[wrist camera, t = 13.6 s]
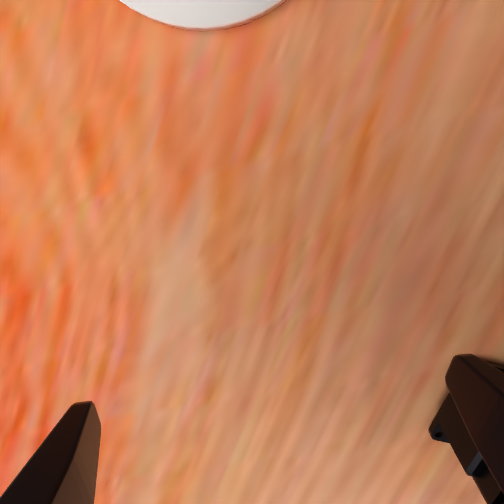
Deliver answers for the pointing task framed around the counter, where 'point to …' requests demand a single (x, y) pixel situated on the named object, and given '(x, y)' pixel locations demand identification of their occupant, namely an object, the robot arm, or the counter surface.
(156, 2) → the serving plate
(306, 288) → the counter surface
